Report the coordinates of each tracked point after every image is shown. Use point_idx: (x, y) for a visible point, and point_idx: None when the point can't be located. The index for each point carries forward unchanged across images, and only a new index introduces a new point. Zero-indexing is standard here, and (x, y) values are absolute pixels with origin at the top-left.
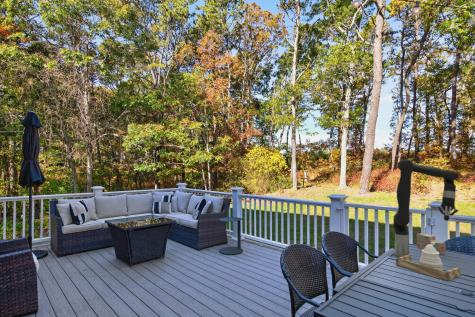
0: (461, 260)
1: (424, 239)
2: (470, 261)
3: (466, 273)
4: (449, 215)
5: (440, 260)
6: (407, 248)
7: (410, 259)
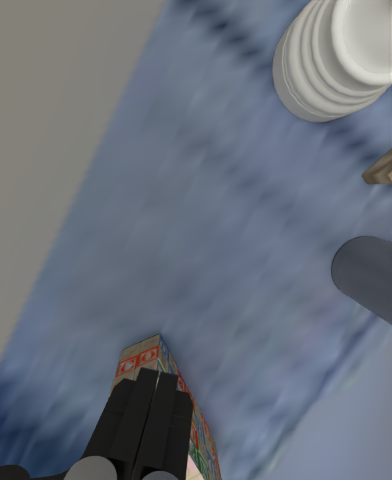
0: (88, 261)
1: (203, 456)
2: (48, 253)
3: (171, 29)
4: (77, 466)
5: (319, 2)
6: (385, 252)
7: (379, 167)
